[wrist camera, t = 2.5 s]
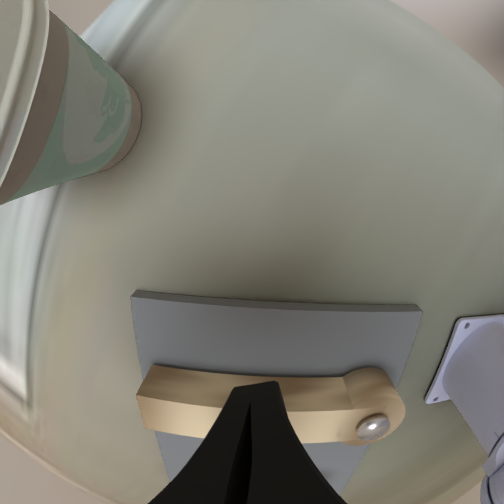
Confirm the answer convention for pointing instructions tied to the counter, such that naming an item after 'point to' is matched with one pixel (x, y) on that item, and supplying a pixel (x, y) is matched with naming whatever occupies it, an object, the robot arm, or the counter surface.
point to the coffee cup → (57, 103)
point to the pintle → (373, 428)
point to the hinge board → (271, 352)
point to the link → (294, 395)
